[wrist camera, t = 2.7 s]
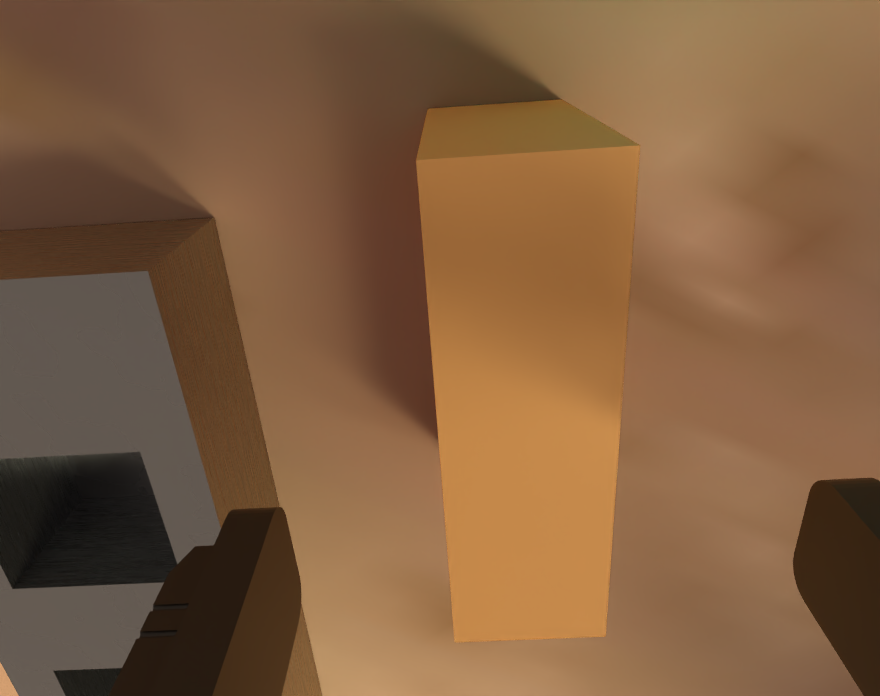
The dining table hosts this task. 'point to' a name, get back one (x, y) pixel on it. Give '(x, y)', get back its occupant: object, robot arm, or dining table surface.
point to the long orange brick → (527, 357)
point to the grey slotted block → (116, 441)
